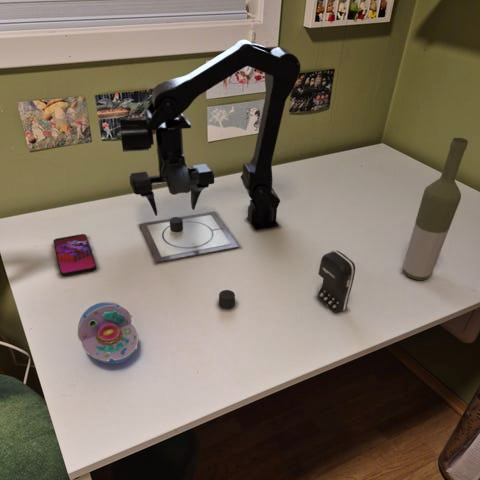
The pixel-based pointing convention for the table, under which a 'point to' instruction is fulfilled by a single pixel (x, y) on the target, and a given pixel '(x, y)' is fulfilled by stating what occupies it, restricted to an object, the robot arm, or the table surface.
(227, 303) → the dot
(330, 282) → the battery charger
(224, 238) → the board
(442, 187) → the bottle
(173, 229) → the dot
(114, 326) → the cell model
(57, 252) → the smartphone
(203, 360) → the table surface
